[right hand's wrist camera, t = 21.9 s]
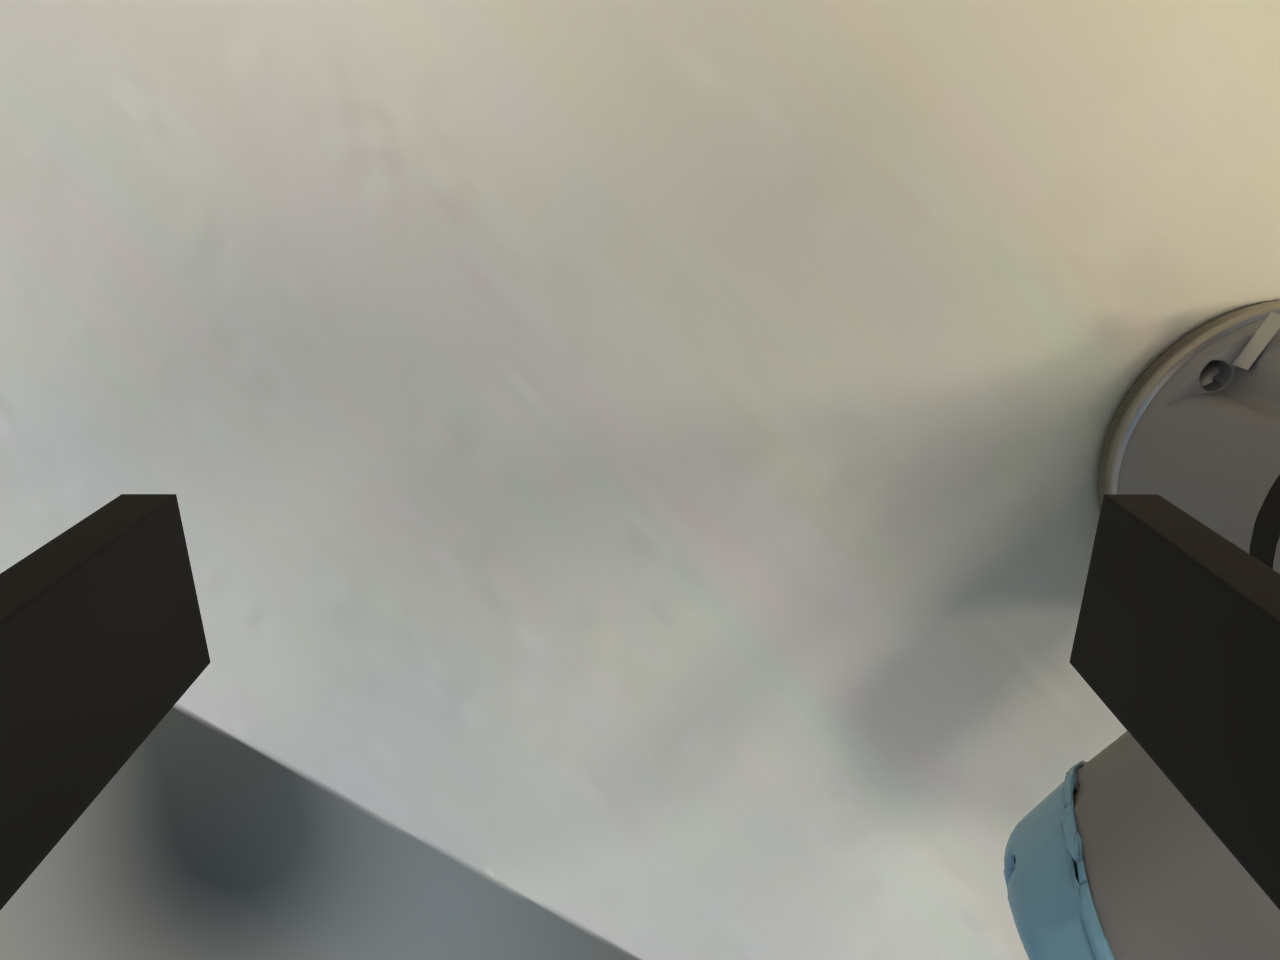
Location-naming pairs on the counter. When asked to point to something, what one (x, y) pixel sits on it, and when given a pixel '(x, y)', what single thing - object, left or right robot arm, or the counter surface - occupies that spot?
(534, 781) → the counter surface
